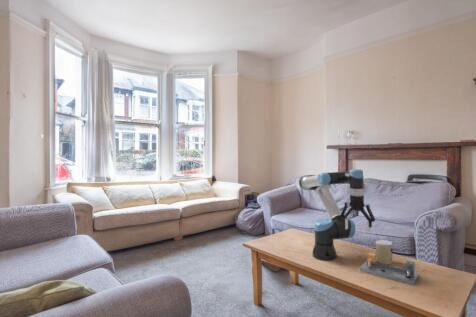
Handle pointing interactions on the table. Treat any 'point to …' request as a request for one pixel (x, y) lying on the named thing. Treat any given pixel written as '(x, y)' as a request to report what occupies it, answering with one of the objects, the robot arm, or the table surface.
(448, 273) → the table surface
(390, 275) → the plate
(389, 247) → the coffee cup
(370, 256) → the block
